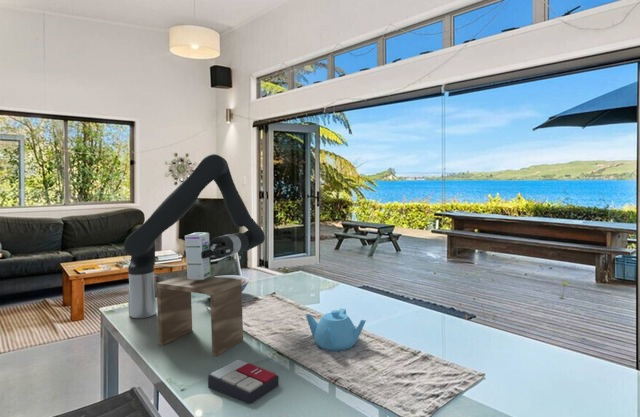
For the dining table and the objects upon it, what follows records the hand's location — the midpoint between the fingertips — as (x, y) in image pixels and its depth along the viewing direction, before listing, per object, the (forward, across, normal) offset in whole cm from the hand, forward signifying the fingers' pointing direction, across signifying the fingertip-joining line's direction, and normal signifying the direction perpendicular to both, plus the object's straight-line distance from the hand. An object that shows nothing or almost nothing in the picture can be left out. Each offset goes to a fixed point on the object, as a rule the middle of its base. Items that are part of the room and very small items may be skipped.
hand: (193, 254), depth 133 cm
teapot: (-18, +41, +30) cm, 54 cm away
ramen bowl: (-47, -25, +30) cm, 61 cm away
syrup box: (-2, 0, +8) cm, 9 cm away
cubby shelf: (-2, 0, +30) cm, 30 cm away
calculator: (+17, +29, +30) cm, 45 cm away
